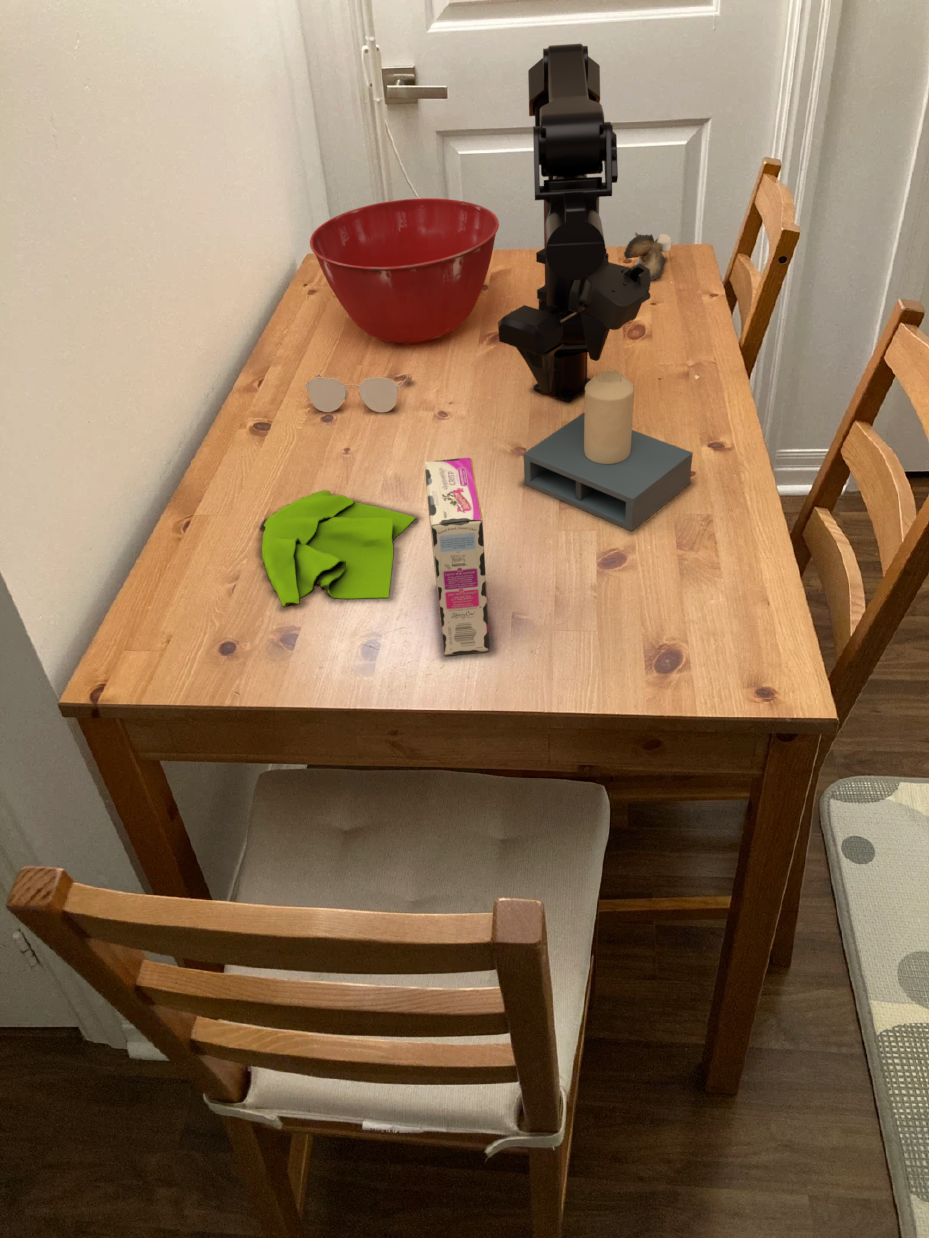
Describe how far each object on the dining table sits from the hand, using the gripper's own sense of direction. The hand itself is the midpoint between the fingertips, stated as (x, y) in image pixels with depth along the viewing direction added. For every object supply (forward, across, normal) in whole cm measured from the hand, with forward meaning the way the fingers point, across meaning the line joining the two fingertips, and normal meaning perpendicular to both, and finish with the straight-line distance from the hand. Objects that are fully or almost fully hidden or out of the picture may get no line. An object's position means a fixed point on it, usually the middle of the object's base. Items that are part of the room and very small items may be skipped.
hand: (570, 375), depth 114 cm
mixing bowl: (+13, +18, +45) cm, 51 cm away
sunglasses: (+13, -3, +35) cm, 38 cm away
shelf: (+13, 0, -6) cm, 14 cm away
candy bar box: (+13, -29, -8) cm, 33 cm away
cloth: (+13, -30, +12) cm, 35 cm away
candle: (+9, 0, -6) cm, 10 cm away
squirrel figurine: (+13, +56, +27) cm, 64 cm away
